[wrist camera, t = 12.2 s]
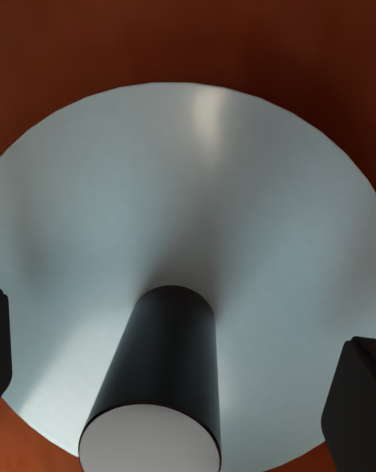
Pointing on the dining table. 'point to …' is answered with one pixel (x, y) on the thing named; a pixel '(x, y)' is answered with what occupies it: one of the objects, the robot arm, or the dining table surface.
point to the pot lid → (181, 278)
